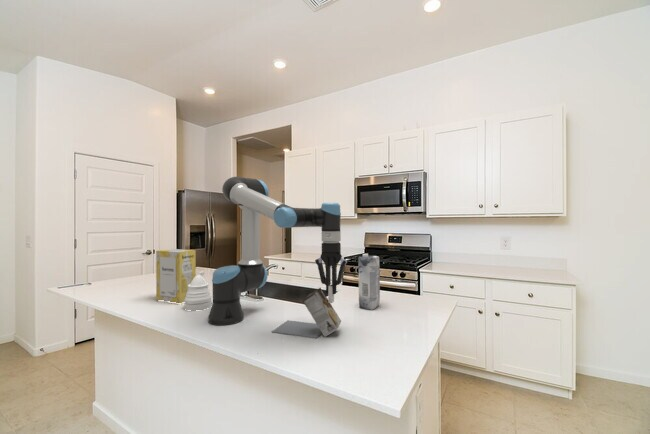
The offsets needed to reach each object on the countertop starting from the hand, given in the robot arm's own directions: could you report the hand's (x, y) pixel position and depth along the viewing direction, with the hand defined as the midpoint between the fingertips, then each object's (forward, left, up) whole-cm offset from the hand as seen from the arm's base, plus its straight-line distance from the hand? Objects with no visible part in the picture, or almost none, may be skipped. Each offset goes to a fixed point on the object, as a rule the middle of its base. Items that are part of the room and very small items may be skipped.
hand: (331, 302), depth 117 cm
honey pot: (-76, +11, -12) cm, 77 cm away
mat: (-13, 0, -12) cm, 18 cm away
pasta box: (-98, +18, -12) cm, 100 cm away
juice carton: (+7, +39, -12) cm, 42 cm away
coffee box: (+1, 0, -11) cm, 11 cm away
